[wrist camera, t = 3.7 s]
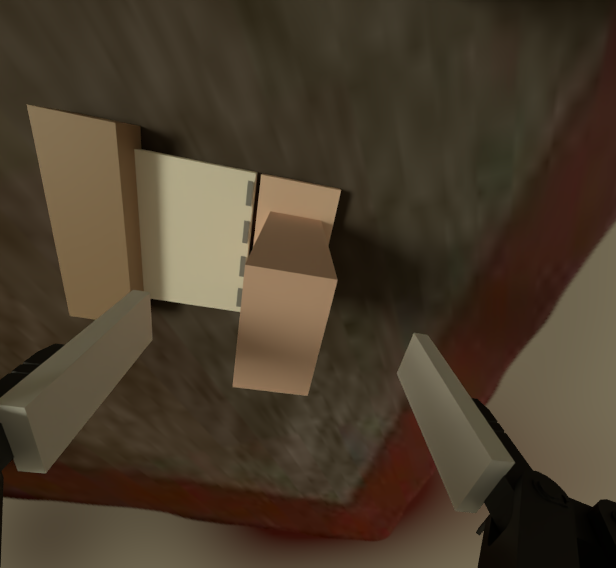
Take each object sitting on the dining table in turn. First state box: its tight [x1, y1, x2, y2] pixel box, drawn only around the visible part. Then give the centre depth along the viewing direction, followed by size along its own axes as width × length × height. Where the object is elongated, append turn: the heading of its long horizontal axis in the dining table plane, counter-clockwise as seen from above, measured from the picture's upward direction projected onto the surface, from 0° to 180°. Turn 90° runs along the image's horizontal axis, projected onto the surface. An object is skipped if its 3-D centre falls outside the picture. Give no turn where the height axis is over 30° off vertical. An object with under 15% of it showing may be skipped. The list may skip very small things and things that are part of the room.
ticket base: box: [27, 105, 258, 319], centre depth 22 cm, size 14×15×3 cm
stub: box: [233, 173, 341, 396], centre depth 19 cm, size 6×12×12 cm, turn 169°
